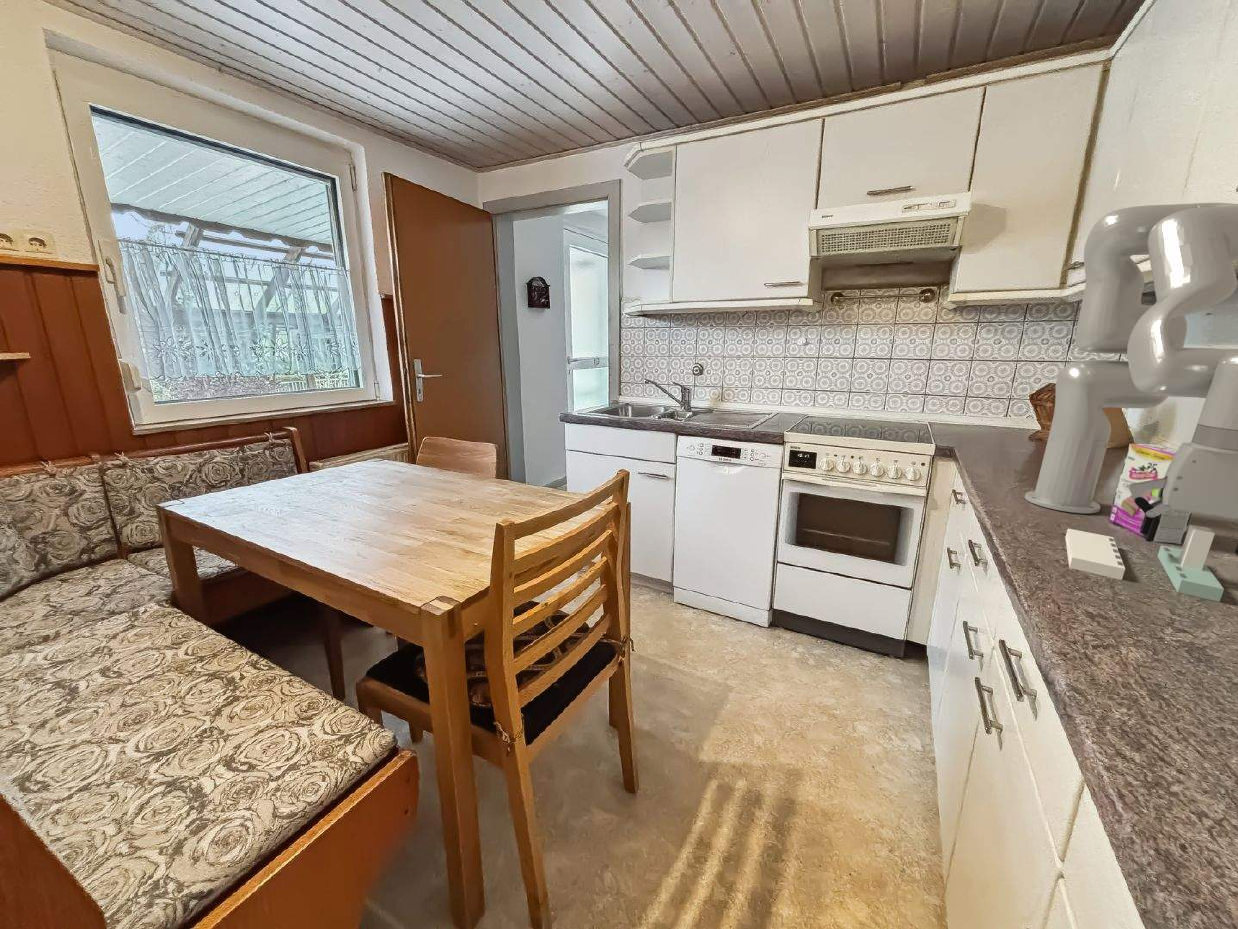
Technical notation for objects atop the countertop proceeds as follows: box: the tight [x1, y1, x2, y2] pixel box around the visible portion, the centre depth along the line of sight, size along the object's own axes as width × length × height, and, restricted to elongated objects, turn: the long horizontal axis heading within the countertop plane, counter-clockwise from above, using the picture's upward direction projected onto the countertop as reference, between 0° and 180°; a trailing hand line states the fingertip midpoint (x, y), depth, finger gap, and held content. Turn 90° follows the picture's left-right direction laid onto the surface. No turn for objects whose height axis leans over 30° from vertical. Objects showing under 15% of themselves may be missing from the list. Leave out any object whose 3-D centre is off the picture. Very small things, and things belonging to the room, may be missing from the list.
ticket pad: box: [1065, 528, 1126, 581], centre depth 82 cm, size 16×6×2 cm, turn 140°
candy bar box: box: [1107, 442, 1193, 545], centre depth 91 cm, size 11×5×16 cm, turn 168°
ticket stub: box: [1157, 524, 1225, 603], centre depth 75 cm, size 16×4×8 cm, turn 140°
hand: (1192, 547), depth 75 cm, fingers open, 9 cm apart
